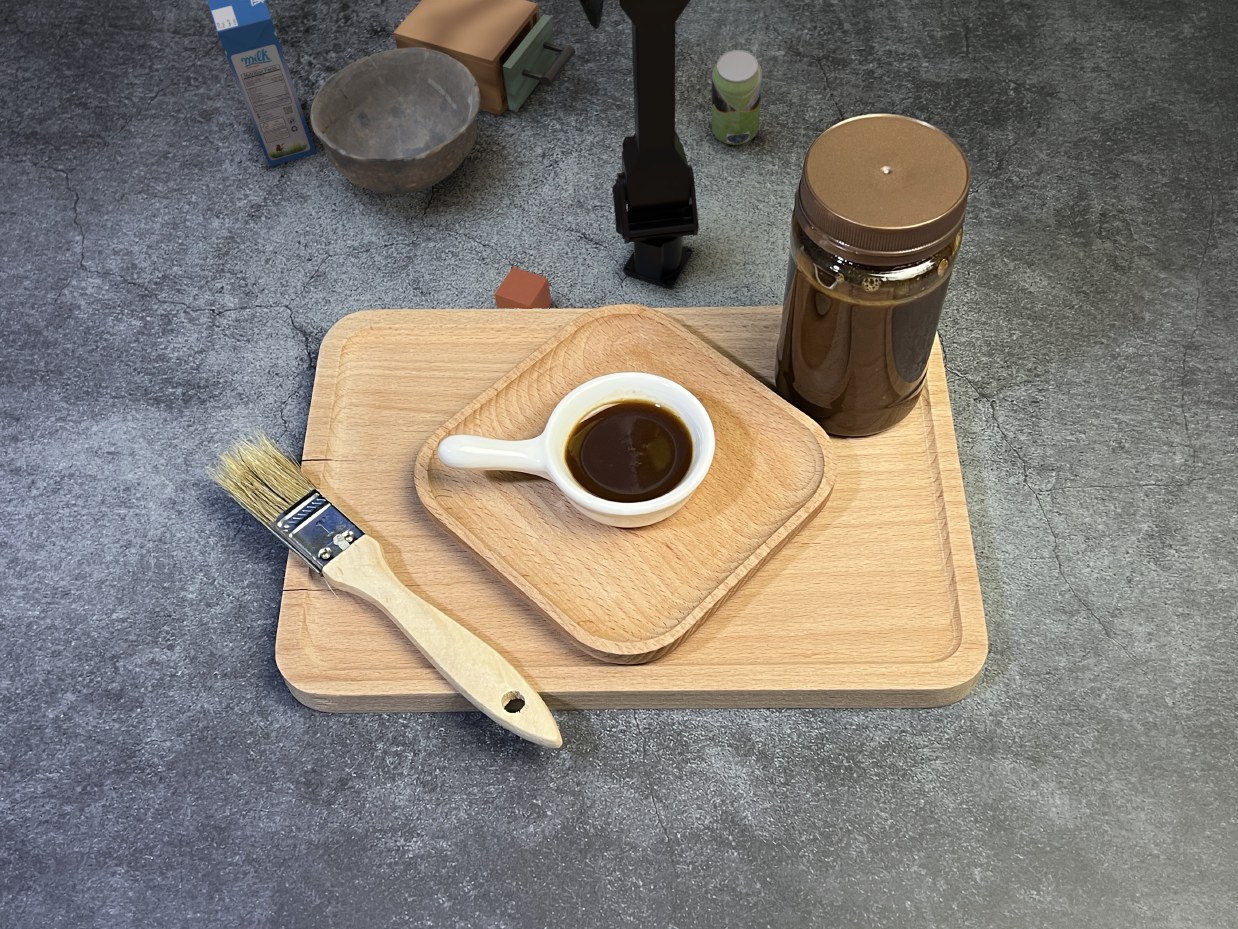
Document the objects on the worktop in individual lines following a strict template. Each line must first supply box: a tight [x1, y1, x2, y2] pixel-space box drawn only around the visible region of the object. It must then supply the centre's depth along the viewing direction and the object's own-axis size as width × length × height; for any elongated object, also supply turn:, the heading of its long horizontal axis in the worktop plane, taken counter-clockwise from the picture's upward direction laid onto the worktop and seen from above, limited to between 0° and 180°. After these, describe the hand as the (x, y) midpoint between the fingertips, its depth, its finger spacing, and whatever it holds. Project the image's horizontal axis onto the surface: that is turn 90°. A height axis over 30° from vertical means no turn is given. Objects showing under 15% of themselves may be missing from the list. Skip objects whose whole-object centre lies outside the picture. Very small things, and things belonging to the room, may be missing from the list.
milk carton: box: [206, 0, 317, 168], centre depth 136 cm, size 10×6×20 cm, turn 22°
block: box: [494, 266, 552, 309], centre depth 125 cm, size 4×4×4 cm
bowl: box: [310, 47, 481, 196], centre depth 137 cm, size 21×21×10 cm
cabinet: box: [393, 0, 541, 116], centre depth 147 cm, size 15×13×9 cm
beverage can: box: [711, 49, 763, 146], centre depth 137 cm, size 6×7×12 cm
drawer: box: [496, 13, 576, 112], centre depth 145 cm, size 18×11×7 cm, turn 65°
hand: (623, 10), depth 135 cm, fingers open, 9 cm apart
